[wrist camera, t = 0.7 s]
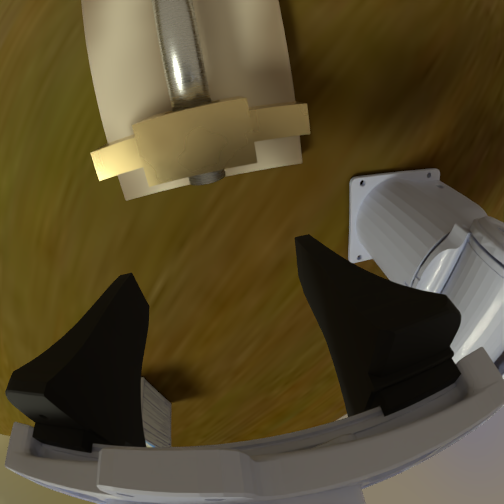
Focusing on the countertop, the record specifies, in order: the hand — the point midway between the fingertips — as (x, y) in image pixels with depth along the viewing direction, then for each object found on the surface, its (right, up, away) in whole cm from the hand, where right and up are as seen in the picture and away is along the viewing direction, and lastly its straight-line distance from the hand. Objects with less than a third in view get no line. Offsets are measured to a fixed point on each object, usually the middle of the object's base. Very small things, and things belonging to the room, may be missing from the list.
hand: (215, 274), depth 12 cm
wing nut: (-2, +8, +3) cm, 9 cm away
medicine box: (-13, -18, +21) cm, 31 cm away
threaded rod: (-2, +12, -1) cm, 12 cm away
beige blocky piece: (-3, +15, +1) cm, 15 cm away
